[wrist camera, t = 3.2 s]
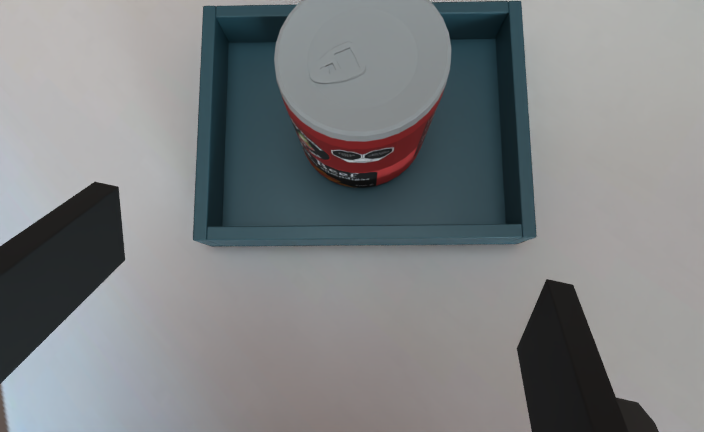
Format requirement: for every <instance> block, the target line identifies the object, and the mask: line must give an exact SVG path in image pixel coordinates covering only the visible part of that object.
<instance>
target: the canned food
mask: <svg viewBox="0 0 704 432" xmlns="http://www.w3.org/2000/svg"><path fill="white" fill-rule="evenodd" d="M274 63H275V72H276V80H277V84H278V86H279V89H280V92H281V95H282V98H283V101H284V104H285V107H286V109H287V111H288V114H289V116H290V119H291V121H292V123H293V126H294V128H295V131H296V133H297V135H298V138H299V140H300V143H301V145H302V147H303V150H304V152H305V155H306V156H307V158H308V160H309V161H310V163H311V165H312V166H313V167H314V168H315V169H316V170H317V171H318V172H319V173H320V174H321V175H323V176H324V177H326V178H327V179H329V180H331V181H333V182H335V183H337V184H340V185H344V186H348V187H359V188H365V187H372V186H377V185H380V184H383V183H386V182H388V181H390V180H392V179H394V178H395V177H397V176H399V175H400V174H401V173H402V172H403V171H405V170H406V169H407V168H408V167H409V166H410V164H411V163H412V162H413V161H414V159H415V158H416V156H417V154H418V152H419V150H420V148H421V146H422V143H423V141H424V139H425V136H426V134H427V131H428V129H429V126H430V124H431V122H432V119H433V117H434V114H435V112H436V109H437V107H438V104H439V102H440V100H441V97H442V95H443V91H444V88H445V86H446V82H447V79H448V75H449V71H450V64H451V43H450V37H449V32H448V29H447V27H446V25H445V22H444V20H443V17H442V16H441V15H440V13H439V12H438V10H437V9H436V7H435V6H434V5H433V4H432V3H431V2H430V1H429V0H301V1H300V2H299V3H298V4H297V6H296V7H295V8H294V9H293V10H292V11H291V13H290V14H289V15H288V17H287V18H286V20H285V22H284V24H283V26H282V27H281V29H280V32H279V36H278V39H277V42H276V47H275V56H274Z"/></svg>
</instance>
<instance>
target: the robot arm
mask: <svg viewBox="0 0 704 432" xmlns="http://www.w3.org/2000/svg"><path fill="white" fill-rule="evenodd" d="M124 261H125V253H124V242H123V231H122V220H121V210H120V199H119V188H118V187H117V186H112V185H108V184H103V183H98V182H94V183H92V184H91V185H89V186H88V187H87V188H85V189H84V190H82V191H81V192H79V193H78V194H76V195H75V196H73V197H72V198H70V199H69V200H68V201H66V202H65V203H63V204H62V205H60V206H59V207H57V208H56V209H54V210H53V211H51V212H50V213H48V214H47V215H46V216H44V217H43V218H41V219H40V220H38V221H37V222H35V223H34V224H32V225H31V226H29V227H28V228H27V229H25V230H24V231H22V232H21V233H19V234H18V235H16V236H15V237H13V238H12V239H10V240H9V241H7V242H6V243H5V244H3V245H2V246H0V384H1V383H2V382H3V381H4V380H5V379H6V378H7V377H8V376H9V375H10V374H11V373H12V372H13V371H14V370H15V369H16V368H17V367H18V366H19V365H20V364H21V363H22V362H23V361H24V360H25V359H26V358H27V357H28V356H29V355H30V354H31V353H32V352H33V351H34V350H35V349H36V348H37V347H38V346H39V345H40V344H41V343H42V342H43V341H44V340H45V339H46V338H47V337H48V336H49V335H50V334H51V333H52V332H53V331H54V330H55V329H56V328H57V327H58V326H59V325H60V324H61V323H62V322H63V321H64V320H65V319H66V318H67V317H68V316H69V315H70V314H71V313H72V312H73V311H74V310H75V309H76V308H77V307H78V306H79V305H80V304H81V303H82V302H83V301H84V300H85V299H86V298H87V297H88V296H89V295H90V294H91V293H92V292H93V291H94V290H95V289H96V288H97V287H98V286H99V285H100V284H101V283H102V282H103V281H104V280H105V279H106V278H107V277H108V276H109V275H110V274H111V273H112V272H113V271H114V270H115V269H116V268H117V267H118V266H119V265H120V264H121V263H123V262H124ZM517 351H518V357H519V363H520V368H521V374H522V379H523V385H524V390H525V396H526V401H527V407H528V413H529V418H530V424H531V429H532V432H659V431H658V429H657V427H656V425H655V423H654V421H653V420H652V419H651V418H650V417H649V415H648V414H647V413H646V412H645V411H644V409H643V408H642V407H641V406H640V405H639V403H637V402H633V401H628V400H624V399H620V398H616V397H615V394H614V392H613V389H612V386H611V384H610V381H609V378H608V376H607V373H606V371H605V368H604V365H603V363H602V360H601V357H600V355H599V352H598V349H597V347H596V344H595V341H594V339H593V336H592V334H591V331H590V328H589V326H588V323H587V320H586V318H585V315H584V312H583V310H582V307H581V304H580V302H579V299H578V296H577V294H576V291H575V289H574V286H573V285H571V284H567V283H562V282H557V281H553V280H548V279H546V282H545V284H544V286H543V289H542V291H541V293H540V296H539V298H538V300H537V303H536V305H535V307H534V310H533V312H532V314H531V317H530V319H529V321H528V324H527V326H526V328H525V331H524V333H523V335H522V338H521V340H520V342H519V345H518V347H517Z"/></svg>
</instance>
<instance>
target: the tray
mask: <svg viewBox="0 0 704 432" xmlns="http://www.w3.org/2000/svg"><path fill="white" fill-rule="evenodd" d="M431 3H432V4H433V5H434V6H435V7H436V9H437V10H438V12H439V13H440V15H441V16H442V17H443V20H444V22H445V25H446V27H447V29H448V32H449V37H450V43H451V64H450V71H449V75H448V79H447V82H446V86H445V88H444V91H443V95H442V97H441V100H440V102H439V104H438V107H437V109H436V112H435V114H434V117H433V119H432V122H431V124H430V126H429V129H428V131H427V134H426V136H425V139H424V141H423V143H422V146H421V148H420V150H419V152H418V154H417V156H416V158H415V159H414V161H413V162H412V163H411V164H410V166H409V167H408V168H407V169H406V170H405V171H403V172H402V173H401V174H400V175H399V176H397V177H395V178H394V179H392V180H390V181H388V182H386V183H383V184H380V185H377V186H372V187H365V188H359V187H348V186H344V185H340V184H337V183H335V182H333V181H331V180H329V179H327V178H326V177H324V176H323V175H321V174H320V173H319V172H318V171H317V170H316V169H315V168H314V167H313V166H312V165H311V163H310V161H309V160H308V158H307V156H306V155H305V152H304V150H303V147H302V145H301V143H300V140H299V138H298V135H297V133H296V131H295V128H294V126H293V123H292V121H291V119H290V116H289V114H288V111H287V109H286V107H285V104H284V101H283V98H282V95H281V92H280V89H279V86H278V84H277V80H276V72H275V63H274V56H275V47H276V42H277V39H278V36H279V32H280V29H281V27H282V26H283V24H284V22H285V20H286V18H287V17H288V15H289V14H290V13H291V11H292V10H293V9H294V8H295V7H296V6H297V5H244V6H217V7H216V6H203V25H202V47H201V70H200V92H199V115H198V137H197V160H196V182H195V205H194V227H193V240H194V241H197V242H200V243H203V244H206V245H209V246H330V245H456V244H518V243H521V242H524V241H527V240H530V239H533V238H535V237H536V222H535V207H534V191H533V176H532V161H531V145H530V130H529V114H528V99H527V83H526V68H525V52H524V37H523V22H522V6H521V1H509V2H508V1H485V2H431Z"/></svg>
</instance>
